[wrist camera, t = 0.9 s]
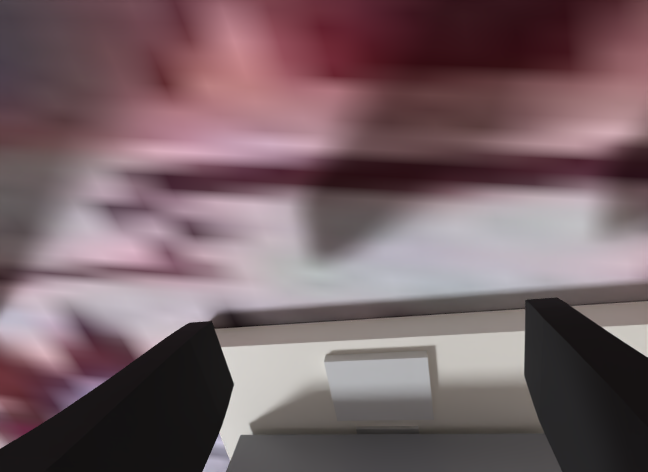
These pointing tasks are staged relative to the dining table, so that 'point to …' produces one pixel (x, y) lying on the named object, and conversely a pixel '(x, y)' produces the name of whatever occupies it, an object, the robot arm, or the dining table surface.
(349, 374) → the switch board
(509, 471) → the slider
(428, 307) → the dining table surface
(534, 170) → the dining table surface
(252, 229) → the dining table surface
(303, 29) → the dining table surface
